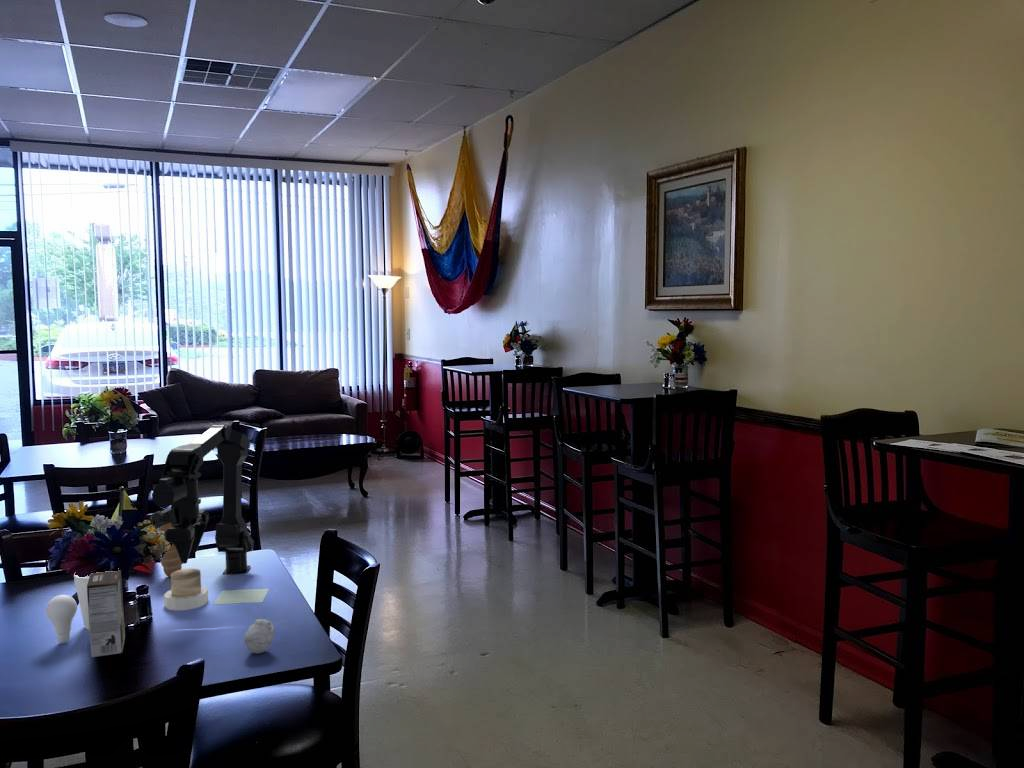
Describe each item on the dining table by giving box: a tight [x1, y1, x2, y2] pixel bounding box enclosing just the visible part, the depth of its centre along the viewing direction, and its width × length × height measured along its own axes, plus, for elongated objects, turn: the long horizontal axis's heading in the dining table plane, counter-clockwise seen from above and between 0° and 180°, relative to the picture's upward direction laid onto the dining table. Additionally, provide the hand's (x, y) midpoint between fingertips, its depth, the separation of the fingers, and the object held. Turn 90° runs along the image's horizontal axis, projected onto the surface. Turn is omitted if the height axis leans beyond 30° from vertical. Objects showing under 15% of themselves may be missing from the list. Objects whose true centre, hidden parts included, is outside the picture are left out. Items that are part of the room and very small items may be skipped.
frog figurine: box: [243, 618, 275, 654], centre depth 176 cm, size 6×7×7 cm
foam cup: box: [73, 573, 89, 631], centre depth 191 cm, size 10×9×13 cm
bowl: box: [163, 585, 209, 612], centre depth 205 cm, size 10×10×3 cm
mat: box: [213, 588, 270, 605], centre depth 209 cm, size 10×12×1 cm
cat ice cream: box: [158, 522, 183, 578], centre depth 225 cm, size 9×8×18 cm
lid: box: [170, 568, 202, 597], centre depth 204 cm, size 7×7×5 cm
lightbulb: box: [45, 594, 78, 644], centre depth 181 cm, size 6×6×11 cm
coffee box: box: [87, 569, 126, 658], centre depth 178 cm, size 9×6×16 cm
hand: (189, 557), depth 205 cm, fingers open, 9 cm apart
